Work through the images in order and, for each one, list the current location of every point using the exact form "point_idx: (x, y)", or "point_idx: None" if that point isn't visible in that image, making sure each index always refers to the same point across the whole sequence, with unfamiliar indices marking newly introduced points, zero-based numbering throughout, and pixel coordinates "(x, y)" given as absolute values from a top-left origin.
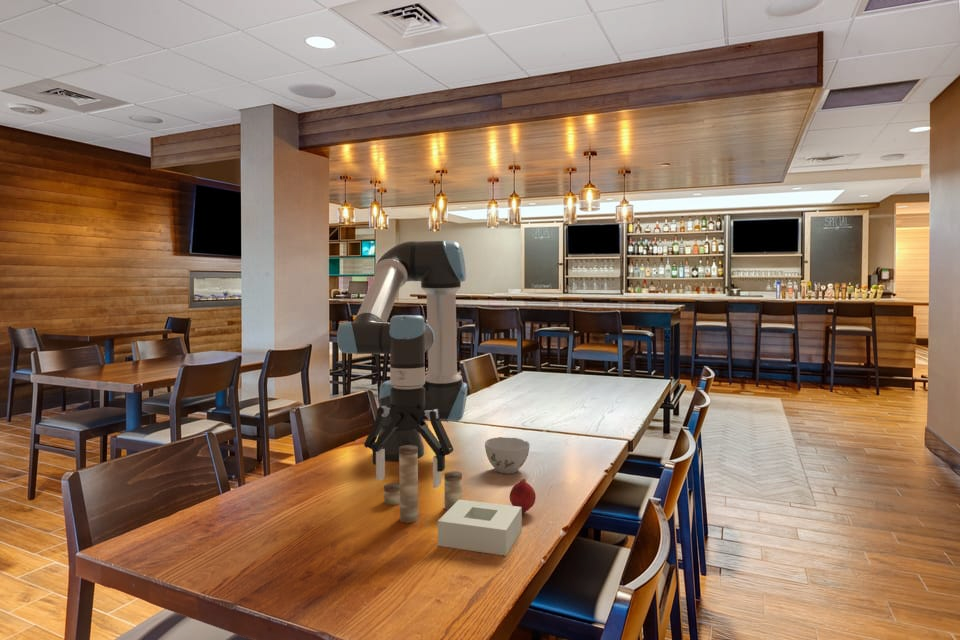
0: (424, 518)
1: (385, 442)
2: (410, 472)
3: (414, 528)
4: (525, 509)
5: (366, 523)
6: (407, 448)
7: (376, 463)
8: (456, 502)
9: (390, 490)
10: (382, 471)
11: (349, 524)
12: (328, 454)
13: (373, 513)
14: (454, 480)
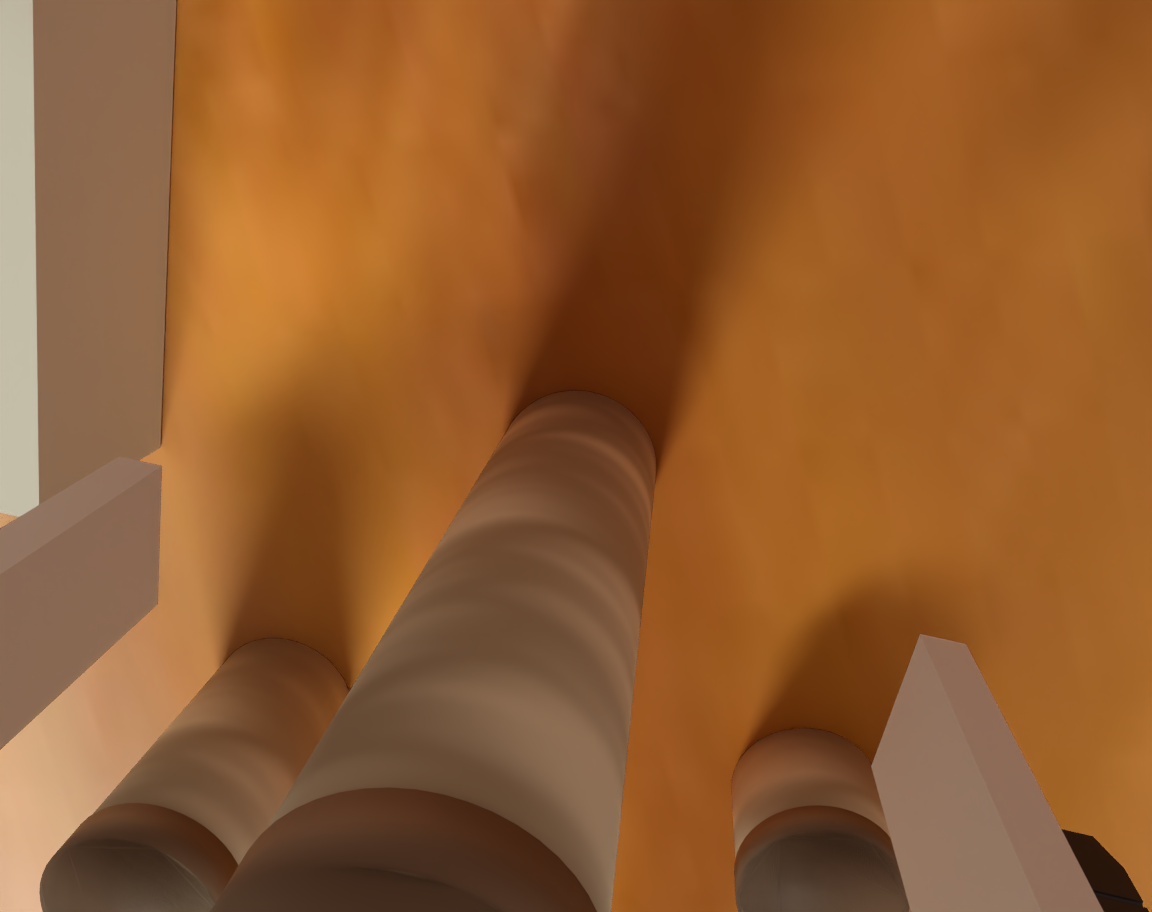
0: (453, 494)
1: None
2: (423, 615)
3: (481, 288)
4: None
5: (944, 349)
6: None
7: (1042, 810)
8: (32, 441)
9: (824, 816)
10: (913, 782)
11: (1108, 311)
12: None
13: (924, 562)
14: (110, 812)
